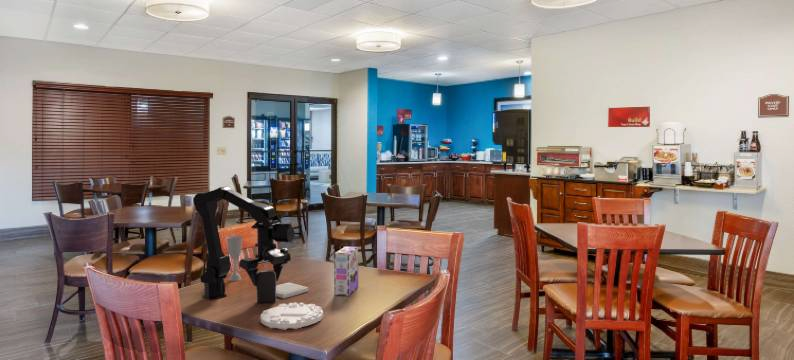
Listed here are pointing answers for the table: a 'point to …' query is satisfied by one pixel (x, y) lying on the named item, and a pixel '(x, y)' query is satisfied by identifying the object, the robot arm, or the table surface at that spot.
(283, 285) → the tray
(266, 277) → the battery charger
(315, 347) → the table surface
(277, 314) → the white round plaque
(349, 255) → the candy box
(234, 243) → the chalice
